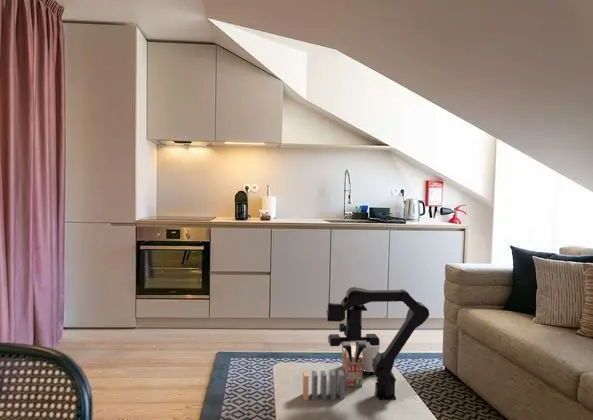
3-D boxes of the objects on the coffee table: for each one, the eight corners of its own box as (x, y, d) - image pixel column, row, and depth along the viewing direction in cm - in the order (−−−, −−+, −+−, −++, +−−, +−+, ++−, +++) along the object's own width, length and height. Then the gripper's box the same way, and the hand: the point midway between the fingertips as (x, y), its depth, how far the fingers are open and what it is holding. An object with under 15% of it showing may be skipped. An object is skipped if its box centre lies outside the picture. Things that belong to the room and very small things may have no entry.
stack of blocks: (342, 365, 202) (342, 338, 201) (356, 366, 202) (356, 338, 201) (347, 386, 181) (347, 356, 180) (362, 387, 180) (363, 356, 180)
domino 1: (306, 394, 173) (307, 370, 173) (308, 399, 169) (308, 376, 168) (302, 394, 173) (302, 371, 173) (303, 399, 169) (304, 376, 168)
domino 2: (315, 393, 174) (315, 370, 173) (317, 399, 169) (317, 375, 169) (311, 393, 174) (311, 370, 173) (313, 399, 169) (313, 376, 168)
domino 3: (324, 393, 174) (324, 370, 174) (326, 399, 169) (326, 375, 169) (320, 393, 174) (320, 370, 173) (322, 399, 169) (322, 375, 169)
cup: (382, 369, 198) (382, 342, 197) (375, 375, 191) (375, 347, 190) (365, 365, 202) (365, 339, 201) (357, 371, 195) (358, 344, 195)
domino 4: (333, 393, 174) (333, 370, 174) (335, 399, 170) (335, 375, 169) (329, 393, 174) (329, 370, 174) (331, 399, 169) (331, 375, 169)
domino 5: (341, 393, 175) (342, 370, 174) (344, 398, 170) (344, 375, 169) (337, 393, 174) (338, 370, 174) (340, 398, 170) (340, 375, 169)
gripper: (372, 315, 180) (371, 353, 181) (326, 315, 178) (325, 354, 179) (380, 323, 169) (379, 364, 170) (330, 324, 167) (330, 365, 168)
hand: (353, 362), depth 172 cm, fingers closed
